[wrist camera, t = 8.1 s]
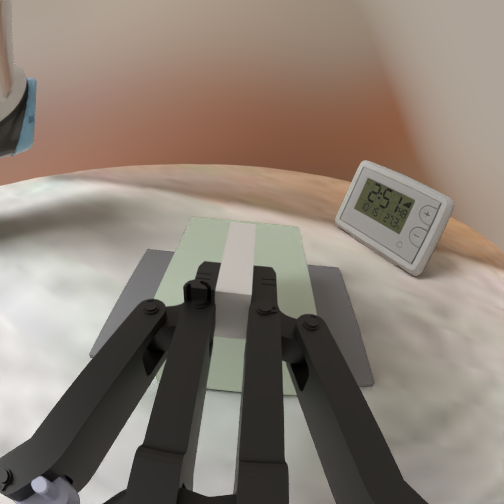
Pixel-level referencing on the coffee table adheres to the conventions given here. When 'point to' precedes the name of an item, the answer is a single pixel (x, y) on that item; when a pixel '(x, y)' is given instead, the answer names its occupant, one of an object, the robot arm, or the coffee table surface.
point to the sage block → (265, 254)
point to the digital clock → (394, 216)
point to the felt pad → (324, 292)
